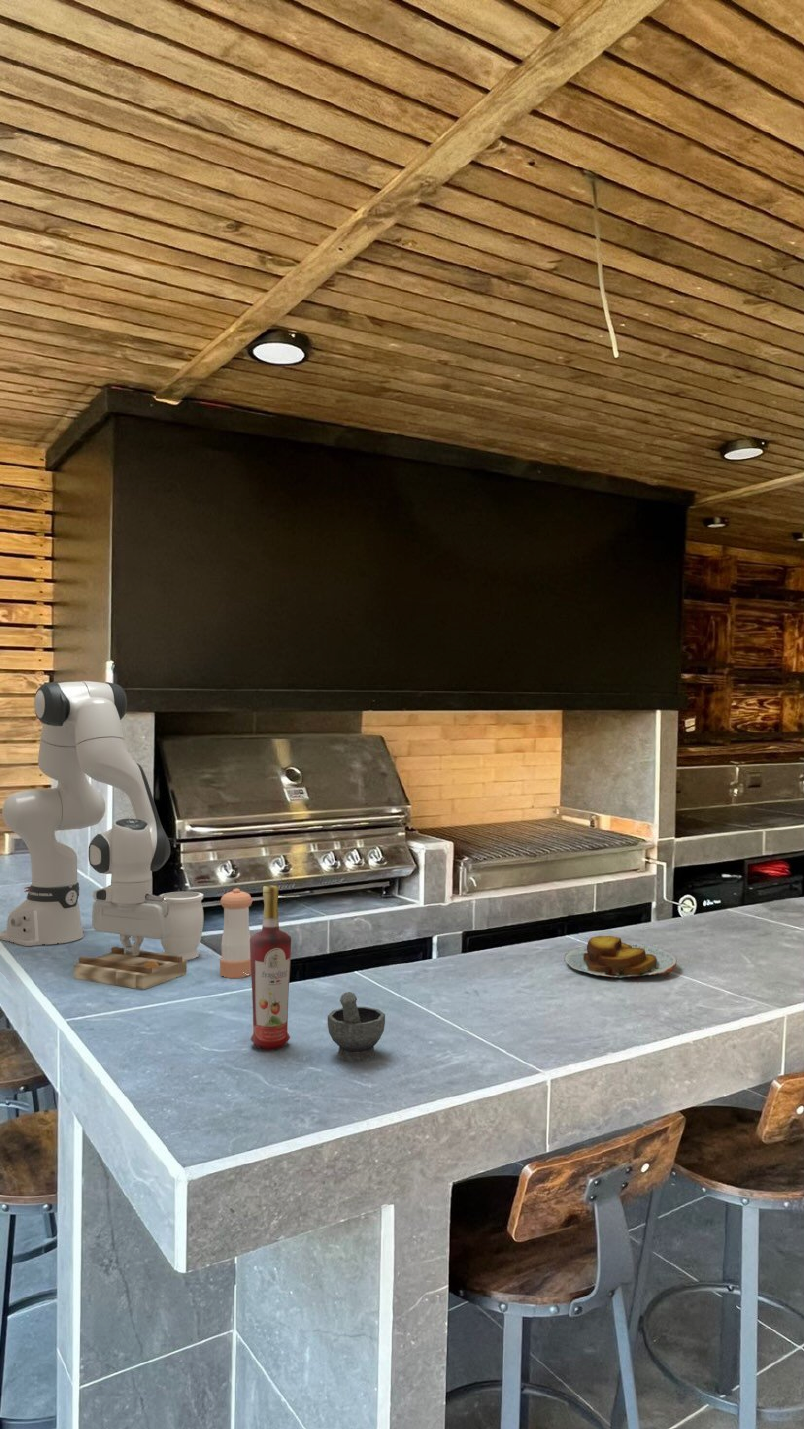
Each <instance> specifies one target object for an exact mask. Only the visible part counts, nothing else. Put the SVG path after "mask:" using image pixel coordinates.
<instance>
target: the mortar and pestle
mask: <svg viewBox="0 0 804 1429" xmlns="http://www.w3.org/2000/svg"><path fill="white" fill-rule="evenodd" d="M357 998H358V997H357V995H356V994H355V993H354V992H350V991H348V992H345V993H343V994H341V996H340V999H339V1002H340V1005H341V1006H342V1007H341V1008H338V1009H333V1010H332V1011H331V1012H330V1013H329V1014H328V1015H327V1029H328V1033H329V1035H330V1037H331V1039H332V1041H333V1043H335V1044H336V1045H337V1046H338V1052H337V1056H338V1057H339V1058H340V1060H342V1061H346V1062H351V1063H353V1062H354V1063H357V1062H361V1063H362V1062H366V1061H368V1060H372V1059H373V1058H374V1056H375V1048H374V1047H375V1045H376V1044H377V1043H378V1042H379V1041H380V1039H381V1037H382V1035H383V1033H384V1030H385V1024H386V1014H385V1013H384V1012H382V1011H381V1010H380V1009H378V1008H374V1007H368V1006H358V1005H357V1000H358V999H357Z"/></svg>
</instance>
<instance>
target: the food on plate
mask: <svg viewBox="0 0 804 1429" xmlns="http://www.w3.org/2000/svg"><path fill="white" fill-rule="evenodd" d="M567 952H568V953H565V955H564V962H565V963H566V965H569V966H570V968H571V969H573V970H577V971H580V972H584V973H588V974H591V975H595V976H602V977H611V978H637V977H644V976H652V975H654V976H655V975H657V974H658V975H664V974H665V973H668V974H667V975H666V977H667V978H670V977H671V976H670V972H671V971H672V970H673V969H674V968H675V967H676V966H677V960H678V959H677V957H676V956H675V955H673V954H672V953H671V952H669V951H666V950H663V949H661V948H657V947H654V946H653V945H652V946H651V945H646V944H642V943H631V942H630V943H629V942H628V943H626V942H622V938H621V937H618V936H613V935H610V936H609V935H597V936H593V937H590V938H589V940H588V941H587V945H585V946H581V947H577V948H574V949H572V950H570V951H567ZM584 966H585V967H587V968H586V969H585V968H584ZM639 983H640V982H636V984H639Z"/></svg>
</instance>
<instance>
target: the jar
mask: <svg viewBox="0 0 804 1429" xmlns="http://www.w3.org/2000/svg"><path fill="white" fill-rule="evenodd" d="M158 896H163V897H164V898H165V899H166V900H167V902H168V903H169V911H170V916H171V926H172V932H171V934H170V936H169V937H167V938H164V939H160V944H161V946H162V948H163V950H164V953H163V954H167V955H174V956H181V957H182V960H187V961H190V960H194V959H196V957H197V958H198V957H200V956H199V955H200V953H199V952H198V948H199V946H200V943H201V939H202V934H203V927H204V908H203V905H202V900H203V899H204V894H203V893H201V892H197V891H172V892H166V893H162V894H159V895H158ZM163 901H164V900H163Z"/></svg>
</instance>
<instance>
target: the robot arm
mask: <svg viewBox="0 0 804 1429" xmlns="http://www.w3.org/2000/svg"><path fill="white" fill-rule="evenodd" d="M127 707H128V698H127V694H126V692H125V690H124V689H123V687H122V686H121V685H119V684H117V683H114V682H107V681H106V682H100V681H99V682H98V681H89V680H80V681H65V682H56V681H53V682H52V681H51V682H47V683H43V684H41V685H40V686H39V687H38V688H37V690H36V691H35V694H34V698H33V709H34V714H35V717H36V718H37V720H39V722H40V723H42V728H41V732H40V739H39V740H40V741H39V748H38V749H39V750H38V758H37V765H38V769H39V770H40V771H41V773H42V774H44V775H45V776H46V777H48V778H51V779H53V780H55V781H57V786H56V787H54V788H40V789H39V788H38V789H26V790H21V791H17V792H14V793H11V794H9V795H8V797H7V798H5V801H4V802H3V805H2V809H1V814H2V815H1V816H2V819H3V822H4V824H5V825H6V827H7V828H8V829H9V830H10V831H12V832H13V833H15V834H16V835H17V836H19V838H21V840H22V841H23V842H24V843H25V845H26V847H27V850H28V852H29V856H30V862H31V864H30V866H31V882H32V883H31V885H30V886H26V887H24V888H23V889H24V893H26V892H27V896H26V899H25V900H24V901H23V902H22V903H21V904H19V905H18V906H17V907H16V908H15V909H14V910H12V911H11V912H10V913H9V915H8V917H7V921H6V922H7V923H6V930H3V931H1V932H0V940H2V941H6V942H9V941H10V943H13V942H14V943H13V944H16V945H17V944H18V945H21V946H24V947H32V946H41V945H42V944H45V945H57V943H59V944H65V943H71V942H74V941H78V940H80V939H83V938H84V936H85V935H84V927H83V925H82V918H81V911H80V909H81V908H80V903H79V900H78V899H79V897H80V883H79V882H78V856H77V852H75V850H74V849H73V848H71V847H70V846H69V845H66V844H64V843H61V842H60V841H59V842H58V841H57V839H56V832H58V831H66V830H67V831H69V830H82V829H85V828H89V827H92V826H97V825H99V823H100V822H101V821H102V819H103V817H104V815H105V812H106V803H105V799H104V797H103V796H102V794H101V792H100V791H99V790H98V789H96V788H94V787H93V785H92V784H91V783H90V782H89V780H88V777H89V778H91V779H93V780H94V781H97V782H98V783H102V784H105V785H108V786H110V787H115V788H117V789H118V790H120V791H122V792H123V793H125V794H126V795H127V797H128V798H129V800H130V802H131V806H132V810H133V813H134V816H135V818H123V819H118V820H117V821H115V822H114V823H113V824H112V828H111V829H109V830H106V831H104V832H102V833H98V834H96V835H95V836H94V837H93V838H92V840H91V841H90V843H89V845H88V862H89V866H91V867H92V869H94V871H96V872H98V873H99V874H106V875H111V879H110V885H107V886H105V887H102V888H99V889H96V890H94V891H93V892H92V893H93V894H92V897H93V900H95V901H94V902H93V905H92V915H91V918H92V920H91V921H92V924H91V925H92V927H93V929H94V932H100V933H101V932H102V933H106V934H107V933H108V934H114V935H115V934H116V935H119V940H120V942H121V945H122V946H123V947H122V948H124V954H125V955H131V956H137V955H139V950H140V947H141V945H142V943H143V942H144V940H145V939H153V940H159V941H161V939H164V938H167V937H169V936H170V934H171V932H172V926H171V916H170V911H169V903H168V902H167V900H166V899H165V898H164V897H163V896H159V895H155V894H153V875H152V872H157V871H159V870H161V868H162V867H163V866H164V865H165V864H166V863H167V861H168V860H169V858H170V856H171V844H170V841H169V838H168V835H167V834H166V831H165V829H164V828H163V825H162V822H161V819H160V816H159V814H158V810H157V806H156V804H155V800H154V797H153V794H152V791H151V787H150V784H149V781H148V778H147V776H146V773H145V771H144V769H143V767H142V766H141V764H139V763H137V762H136V761H134V759H133V758H132V756H131V754H130V752H129V751H128V749H127V746H126V741H125V735H124V729H123V726H122V721H121V720H122V719H123V718H124V717H125V715H126V713H127ZM87 776H88V777H87ZM25 889H26V890H25ZM163 900H164V901H163ZM130 938H132V941H133V944H132V942H131V939H130Z"/></svg>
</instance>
